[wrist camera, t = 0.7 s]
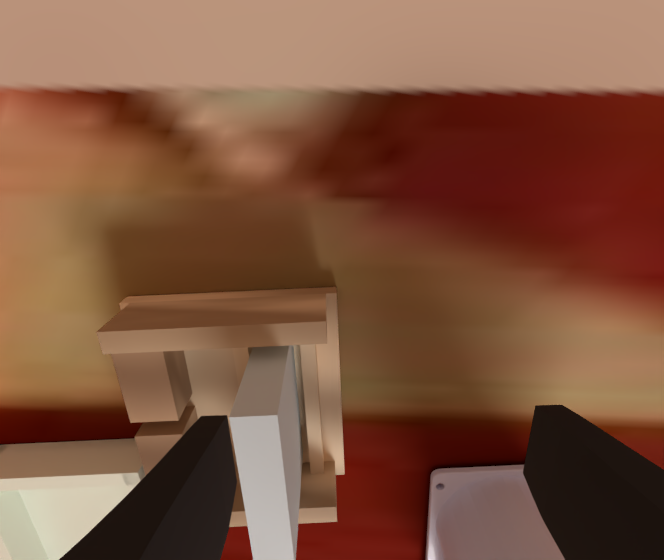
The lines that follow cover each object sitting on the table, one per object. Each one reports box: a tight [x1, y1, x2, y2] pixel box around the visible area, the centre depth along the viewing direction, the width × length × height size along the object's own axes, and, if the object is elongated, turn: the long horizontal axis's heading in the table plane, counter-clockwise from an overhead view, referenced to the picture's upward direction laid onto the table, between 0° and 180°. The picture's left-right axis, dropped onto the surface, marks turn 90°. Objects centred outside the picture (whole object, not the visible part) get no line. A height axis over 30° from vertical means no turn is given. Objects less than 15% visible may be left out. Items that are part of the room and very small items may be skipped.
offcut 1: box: [111, 350, 192, 423], centre depth 18 cm, size 4×2×2 cm, turn 2°
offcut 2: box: [135, 406, 198, 476], centre depth 20 cm, size 4×2×2 cm, turn 2°
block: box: [229, 345, 303, 560], centre depth 17 cm, size 8×2×6 cm, turn 2°
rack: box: [96, 287, 344, 527], centre depth 19 cm, size 11×10×4 cm
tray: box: [0, 438, 145, 560], centre depth 23 cm, size 12×9×2 cm
